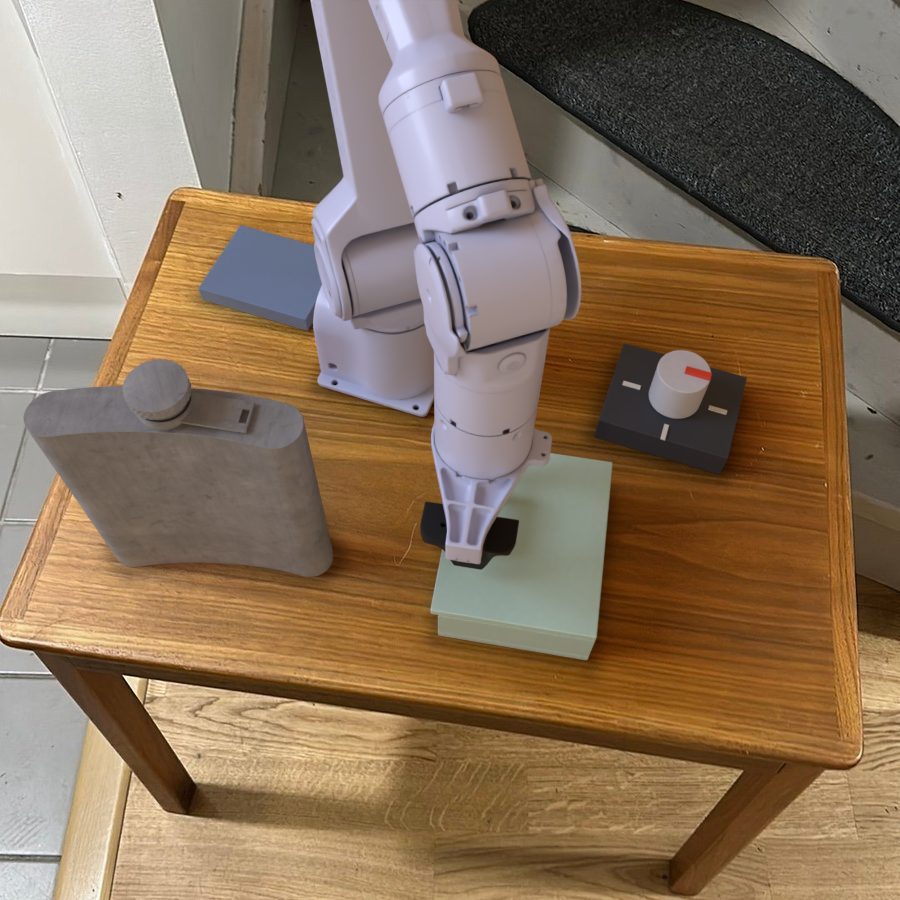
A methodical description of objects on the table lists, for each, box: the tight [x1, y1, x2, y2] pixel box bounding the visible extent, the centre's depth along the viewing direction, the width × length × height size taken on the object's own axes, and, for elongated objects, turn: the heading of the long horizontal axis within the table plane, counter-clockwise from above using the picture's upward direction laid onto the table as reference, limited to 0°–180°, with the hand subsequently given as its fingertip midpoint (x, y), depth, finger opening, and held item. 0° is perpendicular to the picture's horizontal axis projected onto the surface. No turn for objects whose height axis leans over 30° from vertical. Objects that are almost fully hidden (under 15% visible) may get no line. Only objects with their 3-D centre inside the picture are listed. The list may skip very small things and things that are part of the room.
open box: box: [437, 615, 596, 661], centre depth 65 cm, size 10×13×4 cm
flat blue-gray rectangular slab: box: [198, 224, 322, 331], centre depth 80 cm, size 10×8×2 cm
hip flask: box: [23, 358, 335, 578], centre depth 59 cm, size 16×4×20 cm, turn 87°
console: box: [593, 342, 747, 475], centre depth 73 cm, size 10×8×3 cm
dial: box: [649, 349, 712, 419], centre depth 70 cm, size 4×4×4 cm
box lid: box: [430, 452, 613, 642], centre depth 62 cm, size 11×13×4 cm
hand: (477, 511), depth 62 cm, fingers open, 7 cm apart
